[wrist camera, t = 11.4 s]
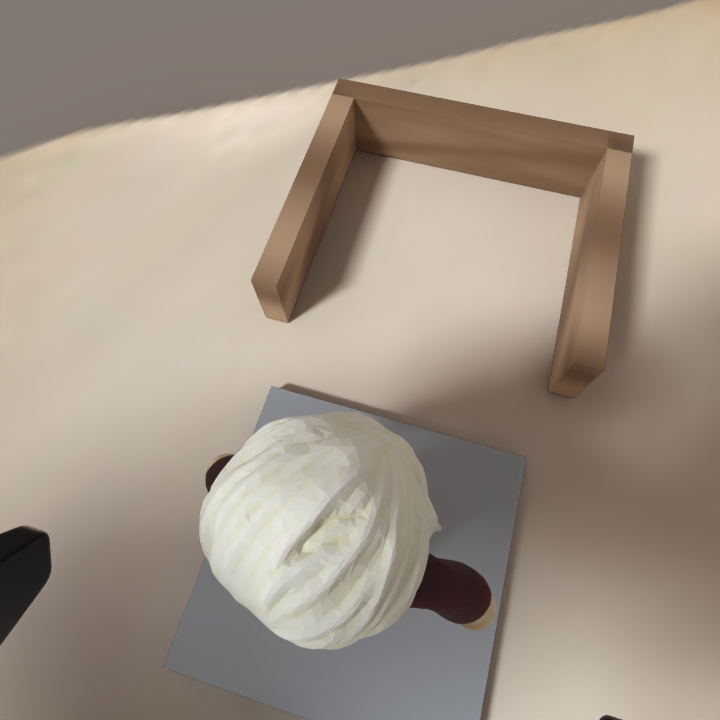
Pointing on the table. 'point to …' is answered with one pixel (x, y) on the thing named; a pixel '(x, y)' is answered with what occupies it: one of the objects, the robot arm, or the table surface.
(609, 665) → the table surface
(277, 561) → the grandmother figurine
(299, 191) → the walnut stall
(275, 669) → the slate mat
